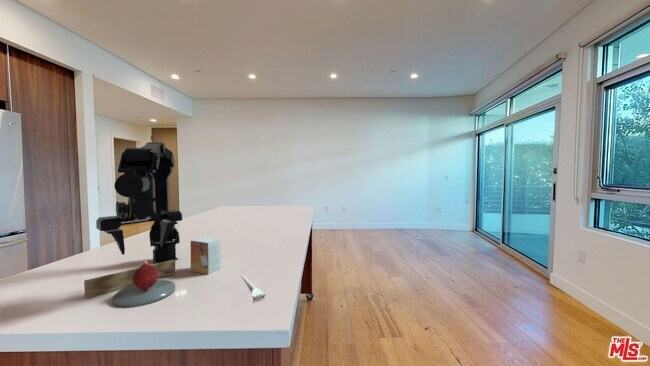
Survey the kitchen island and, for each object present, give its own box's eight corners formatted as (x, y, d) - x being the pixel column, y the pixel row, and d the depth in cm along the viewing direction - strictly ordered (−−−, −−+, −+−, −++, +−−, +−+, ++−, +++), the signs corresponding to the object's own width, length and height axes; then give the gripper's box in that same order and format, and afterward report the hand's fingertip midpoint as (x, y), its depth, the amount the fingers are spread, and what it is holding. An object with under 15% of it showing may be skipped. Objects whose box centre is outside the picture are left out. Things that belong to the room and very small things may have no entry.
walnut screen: (173, 272, 87) (173, 259, 87) (176, 274, 86) (175, 260, 86) (84, 296, 71) (83, 279, 70) (85, 299, 69) (85, 282, 69)
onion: (163, 287, 74) (163, 259, 73) (143, 296, 68) (143, 265, 68) (148, 284, 75) (148, 257, 75) (127, 293, 70) (127, 262, 70)
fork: (247, 276, 86) (247, 271, 86) (269, 299, 69) (268, 292, 69) (237, 279, 84) (236, 273, 84) (256, 303, 67) (256, 296, 67)
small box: (190, 271, 88) (189, 240, 88) (203, 266, 94) (203, 236, 93) (208, 274, 85) (207, 242, 85) (221, 269, 91) (220, 238, 90)
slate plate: (164, 279, 82) (164, 276, 82) (183, 292, 73) (183, 289, 73) (107, 295, 71) (106, 292, 71) (120, 313, 62) (120, 309, 62)
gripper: (167, 190, 84) (169, 238, 85) (90, 194, 70) (93, 252, 71) (182, 192, 77) (183, 244, 78) (100, 197, 63) (102, 261, 64)
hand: (143, 250), depth 73 cm, fingers open, 9 cm apart
